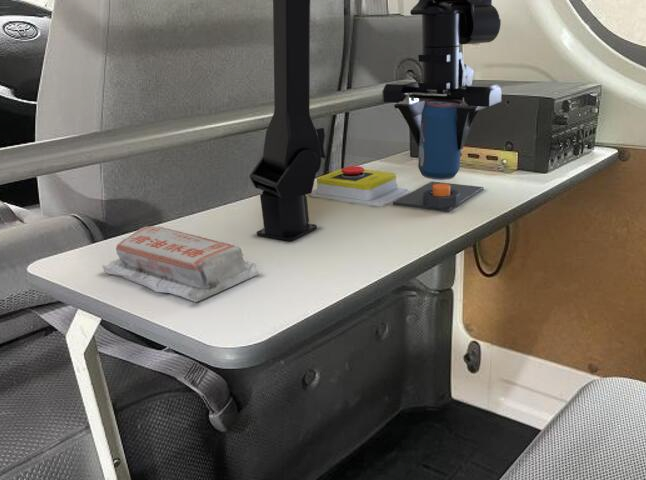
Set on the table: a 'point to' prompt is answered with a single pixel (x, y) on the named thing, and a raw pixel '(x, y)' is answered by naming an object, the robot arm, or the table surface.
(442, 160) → the soda can
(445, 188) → the button
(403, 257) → the table surface
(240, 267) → the packaged product
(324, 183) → the emergency button
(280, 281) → the table surface
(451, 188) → the scale
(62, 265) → the table surface
